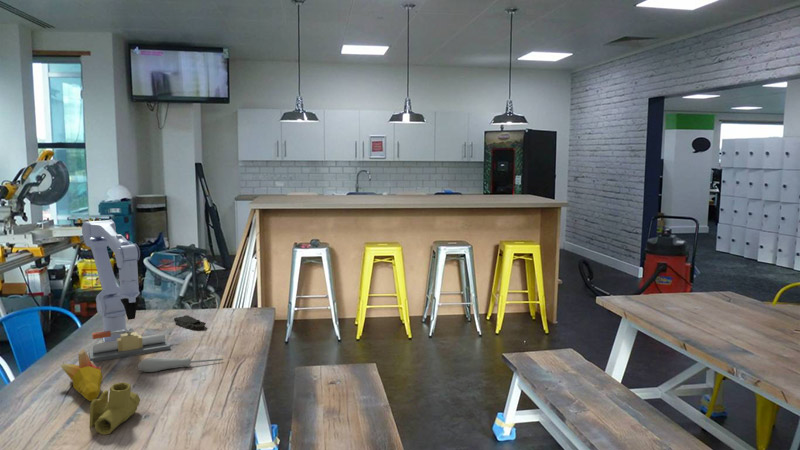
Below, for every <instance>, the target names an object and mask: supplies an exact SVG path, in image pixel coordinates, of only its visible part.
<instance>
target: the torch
mask: <svg viewBox="0 0 800 450" xmlns="http://www.w3.org/2000/svg"><path fill="white" fill-rule="evenodd" d="M77 358H78V364H74V363H73V364H71V363H66V362H65V361H63V362H62V363H60V364H59V366H60V368H61V369H62V370H63V371H64V373H66V375H67V376H68V377H69V378H70V380H71V381H72V386H73V389H75V391H76V392H78V393H79V394H80V395H82V397H83V398H84V399H85V400H87V401H89V402H92V400H93V399H98V398H99V395H100V394H101V393H100V392H101V386H102V383H103V382H102V381H103V378H104V377H103V374H102V373H103V372H102V366H96V364H95V362H93V361H90V356H89V354H88V353H87V351H86V349H85V348H84V347H81V349H80V351H79V352H78V356H77Z"/></svg>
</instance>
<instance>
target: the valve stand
mask: <svg viewBox="0 0 800 450" xmlns="http://www.w3.org/2000/svg"><path fill="white" fill-rule="evenodd" d="M91 347H92V348H91V349H88V357H89V360H90V361H93V363H95V362H102V361H107V360H111V359H113V360H114V359H119V358H125V357H126V358H127V357H131V356H139V355H144V354H150V353H157V352H161V351H168V350H171V344H170V343H169V341H168V340H167V338H166V335H165V333H159V334H153V335H147V336H142V334H138V332H137V331H135V332H134V331H133V333H126V334H120V338H117V341H112V342H106V343H104V342H100V343H95V344H94V343H93V344H92V346H91Z"/></svg>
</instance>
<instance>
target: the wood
mask: <svg viewBox="0 0 800 450" xmlns="http://www.w3.org/2000/svg"><path fill="white" fill-rule="evenodd" d="M173 320H174V321H175V326H178V327H180V328H183V329H188V330H190V331H196V332H197V331H203V330H204V329H205V327H206V324H207V323H206V322H205V321H201V320H200V319H196V318H195V317H193V316H190V315H186V314H185V315H183V316H179V317H177V316H176V317H174V319H173Z"/></svg>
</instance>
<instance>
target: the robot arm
mask: <svg viewBox="0 0 800 450" xmlns="http://www.w3.org/2000/svg"><path fill="white" fill-rule="evenodd" d="M116 229H117V228H116V223H115V221H114V220H113V219H107V220H92V221H90V220H89V221H84V222H83V223H82V225H81V234H82V238H83V241H84V242H83V243H84V245H85V247H88V248H90V250H91V252H92V256H93V260H94V263H95V268H96V272H97V275H98V279H99V283H100V286H101V291H100V292H99V293H98V294H97V295H96V297H95V302H96V306H95V307H96V311H97V313H98V315H99V316H101V317H102V323H103V326H102V327H103V331H110V332H111V331H118V330H125V329H127V322H126V318H127V320H128V321H129V320H135V319H136V314H137V309H138V306H139V303H140V297H139V295H140V294H141V292H140V288H139V287H140V286H139V271H138V269H139V267H138V261H140V257H141V250H140V247H139V246H138V244H137V243H130V242H129V240H127V239H126V238H125V236H123V235H122V234H119V233H118V232H116V231H117V230H116ZM107 247H109V249H110V250H111V251H112V252H113V253H114V258H115V261H116V266H117V268H118V276H119V286H118V285H117V281H116V278H115V277H116V276H115V274H114V270H113V266H112V262H111V258H110V256H109V252H108V248H107ZM124 334H126V333H124ZM117 338H120V334H117V335H111V337H104V338H102V341H103V342H102V343H106V342H112V341H117Z"/></svg>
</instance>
